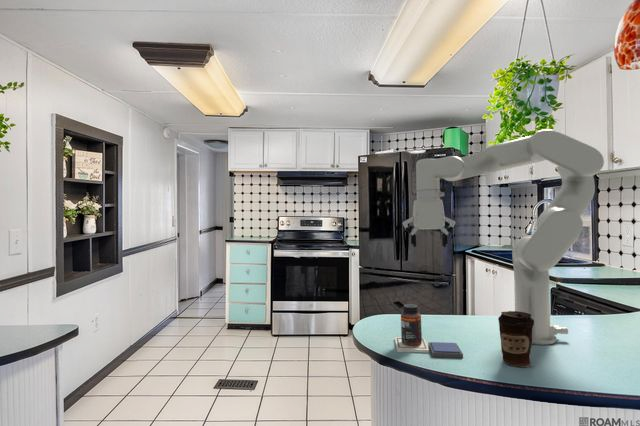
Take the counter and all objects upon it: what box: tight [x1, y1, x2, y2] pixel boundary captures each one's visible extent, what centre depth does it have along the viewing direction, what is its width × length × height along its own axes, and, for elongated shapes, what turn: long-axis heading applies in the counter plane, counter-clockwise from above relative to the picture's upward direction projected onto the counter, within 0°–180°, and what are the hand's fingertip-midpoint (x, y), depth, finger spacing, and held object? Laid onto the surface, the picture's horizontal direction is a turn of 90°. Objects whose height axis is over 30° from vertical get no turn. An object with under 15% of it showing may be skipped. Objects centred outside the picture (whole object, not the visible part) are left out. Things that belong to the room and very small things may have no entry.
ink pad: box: [427, 341, 464, 359], centre depth 104 cm, size 8×8×2 cm
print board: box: [394, 336, 430, 354], centre depth 109 cm, size 9×10×1 cm
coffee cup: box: [497, 310, 534, 368], centre depth 95 cm, size 9×8×13 cm
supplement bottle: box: [400, 303, 423, 346], centre depth 109 cm, size 6×6×11 cm
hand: (429, 246), depth 123 cm, fingers open, 9 cm apart
